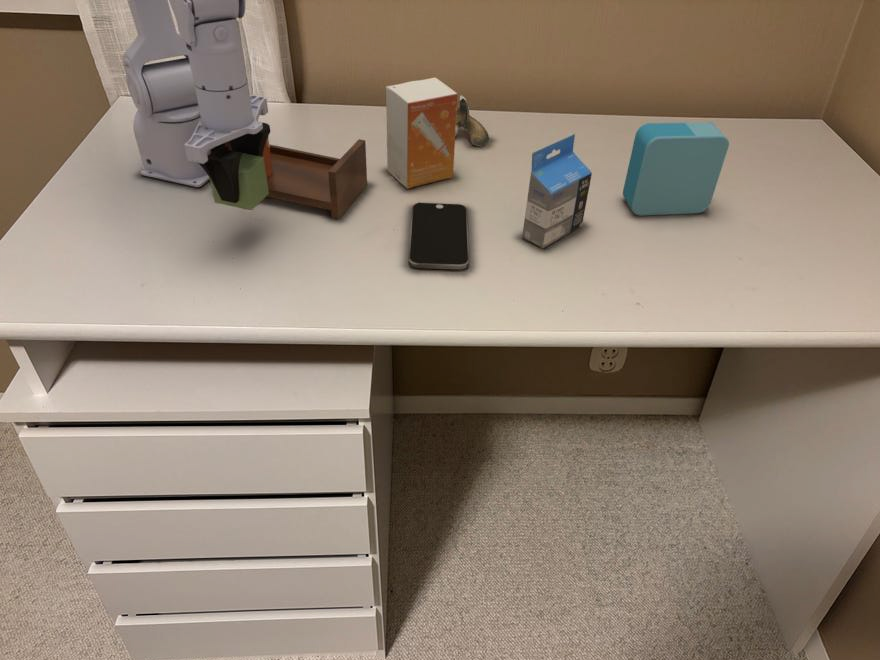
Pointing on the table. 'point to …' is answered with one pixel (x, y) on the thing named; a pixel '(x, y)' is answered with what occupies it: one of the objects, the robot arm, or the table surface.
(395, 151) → the small box
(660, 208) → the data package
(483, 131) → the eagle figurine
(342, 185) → the shelf
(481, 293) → the table surface
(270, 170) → the terracotta cylinder
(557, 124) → the table surface
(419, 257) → the smartphone
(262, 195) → the green block
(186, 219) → the table surface
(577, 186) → the ink cartridge box
